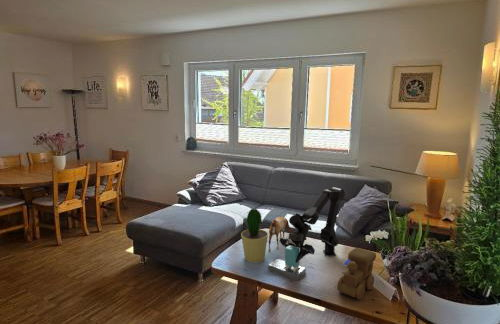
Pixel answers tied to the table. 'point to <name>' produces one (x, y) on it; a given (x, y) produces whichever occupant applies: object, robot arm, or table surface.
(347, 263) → the hard drive
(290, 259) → the clip
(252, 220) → the potted cactus
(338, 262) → the table surface
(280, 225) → the horse figurine
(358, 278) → the wooden toy train
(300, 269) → the grey block with holes
